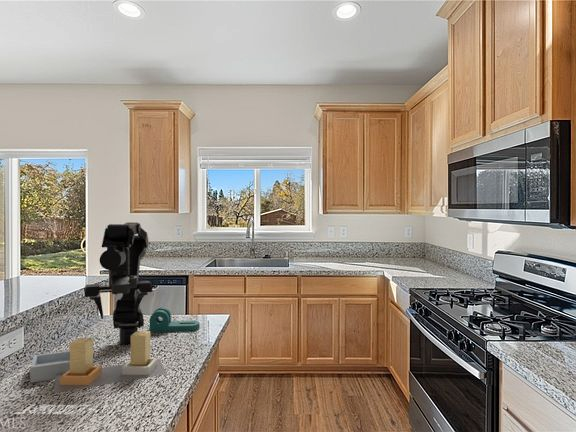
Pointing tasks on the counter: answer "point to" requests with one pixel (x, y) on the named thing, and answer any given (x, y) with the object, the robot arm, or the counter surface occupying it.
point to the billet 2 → (140, 348)
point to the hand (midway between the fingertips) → (118, 316)
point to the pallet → (108, 375)
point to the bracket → (170, 322)
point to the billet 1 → (81, 357)
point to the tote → (49, 366)
